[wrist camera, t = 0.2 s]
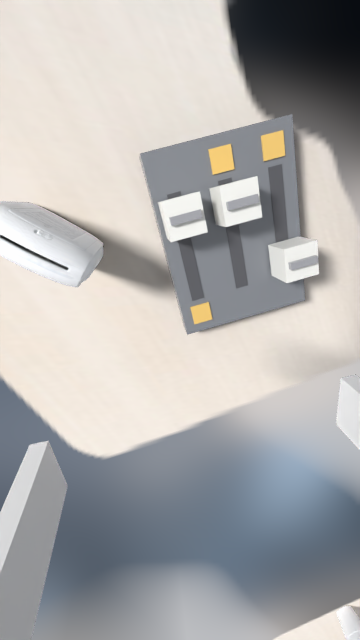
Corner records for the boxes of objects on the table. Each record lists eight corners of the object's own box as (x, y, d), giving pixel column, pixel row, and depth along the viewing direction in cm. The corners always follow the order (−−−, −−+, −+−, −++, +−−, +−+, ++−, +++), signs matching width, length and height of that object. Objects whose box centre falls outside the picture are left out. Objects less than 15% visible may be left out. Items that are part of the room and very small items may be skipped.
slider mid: (209, 188, 32) (220, 185, 28) (243, 179, 32) (259, 175, 28) (216, 224, 33) (227, 227, 29) (248, 215, 34) (264, 217, 29)
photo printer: (12, 230, 34) (-49, 243, 22) (26, 196, 33) (-31, 191, 21) (94, 272, 37) (77, 302, 25) (109, 242, 36) (98, 260, 24)
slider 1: (157, 202, 32) (161, 201, 27) (192, 193, 32) (201, 191, 28) (166, 238, 33) (171, 242, 29) (199, 229, 33) (209, 232, 29)
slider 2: (268, 244, 35) (286, 250, 31) (298, 236, 35) (320, 240, 31) (271, 275, 37) (289, 284, 33) (300, 267, 37) (322, 275, 33)
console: (139, 157, 33) (140, 153, 30) (279, 121, 33) (293, 113, 31) (183, 325, 41) (187, 335, 39) (293, 294, 42) (305, 300, 39)
